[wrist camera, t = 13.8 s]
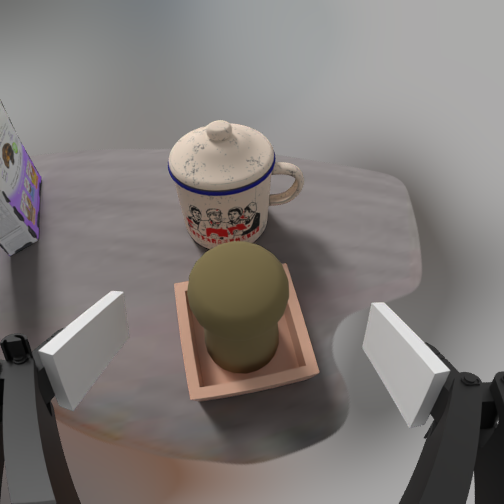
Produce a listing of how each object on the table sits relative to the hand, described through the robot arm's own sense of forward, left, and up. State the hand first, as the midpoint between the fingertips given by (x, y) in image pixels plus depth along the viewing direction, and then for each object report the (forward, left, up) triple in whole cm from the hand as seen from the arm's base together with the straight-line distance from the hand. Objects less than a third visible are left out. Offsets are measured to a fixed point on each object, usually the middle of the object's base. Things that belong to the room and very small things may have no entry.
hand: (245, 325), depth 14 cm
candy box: (-28, +23, -10) cm, 38 cm away
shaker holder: (0, +2, -10) cm, 10 cm away
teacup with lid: (+2, +15, -10) cm, 18 cm away
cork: (0, +2, -9) cm, 9 cm away
